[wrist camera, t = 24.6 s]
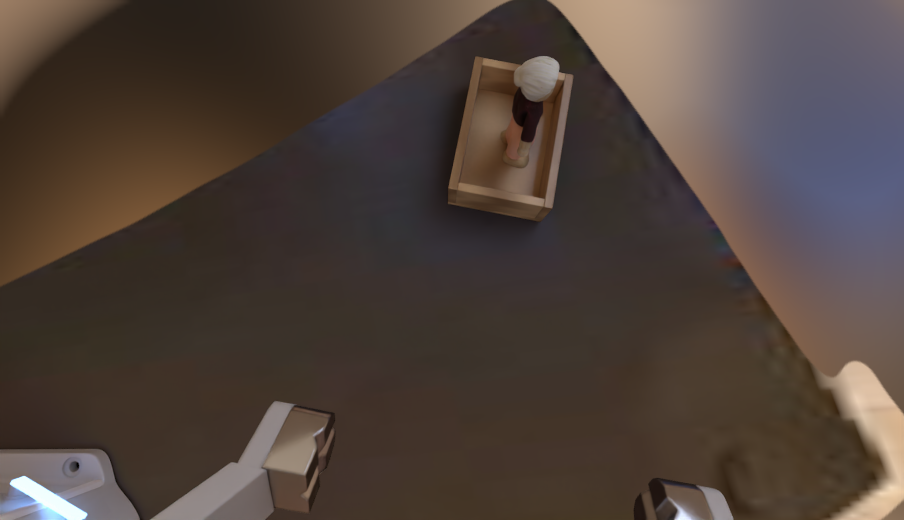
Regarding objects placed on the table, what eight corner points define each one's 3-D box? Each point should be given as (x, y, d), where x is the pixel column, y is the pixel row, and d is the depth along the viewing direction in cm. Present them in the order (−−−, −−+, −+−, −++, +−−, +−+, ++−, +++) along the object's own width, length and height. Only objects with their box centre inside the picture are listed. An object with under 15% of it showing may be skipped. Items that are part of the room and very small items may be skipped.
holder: (447, 203, 42) (448, 188, 38) (472, 84, 45) (475, 56, 40) (540, 222, 42) (552, 208, 38) (560, 101, 44) (573, 74, 40)
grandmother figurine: (541, 173, 42) (583, 107, 30) (505, 181, 42) (531, 117, 30) (524, 105, 44) (556, 14, 31) (488, 112, 43) (506, 23, 31)
